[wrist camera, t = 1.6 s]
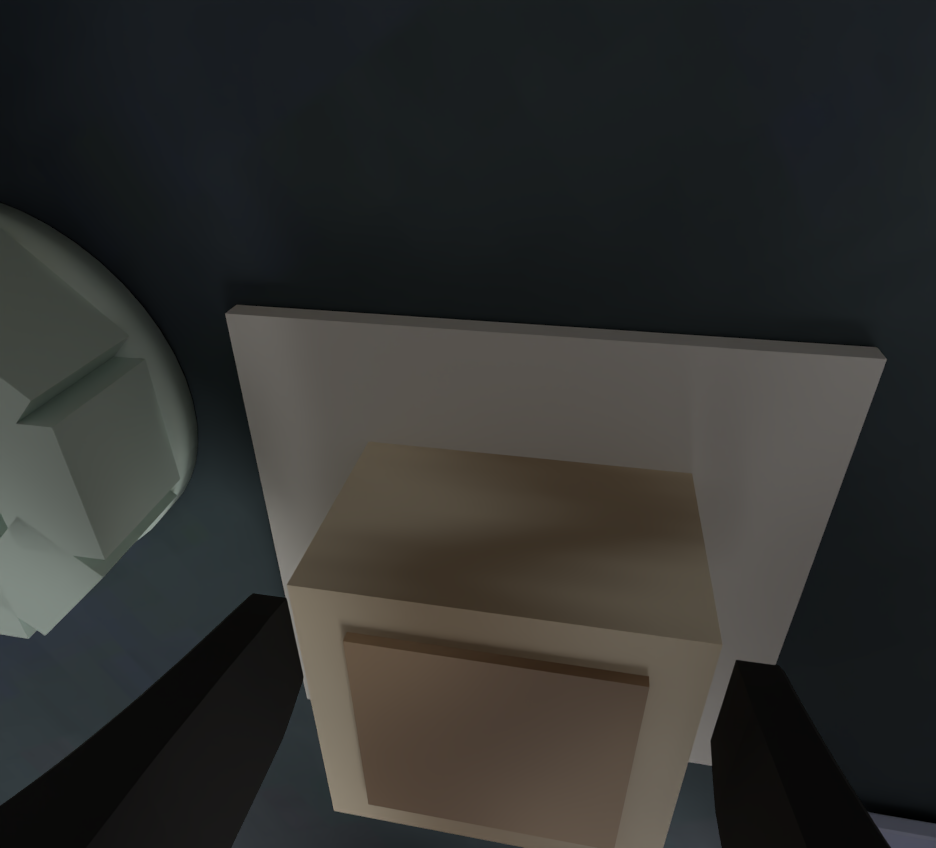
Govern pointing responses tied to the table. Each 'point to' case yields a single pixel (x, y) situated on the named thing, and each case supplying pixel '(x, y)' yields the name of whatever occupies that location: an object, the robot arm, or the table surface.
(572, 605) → the beige square box
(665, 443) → the mat
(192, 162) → the table surface
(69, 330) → the bowl
